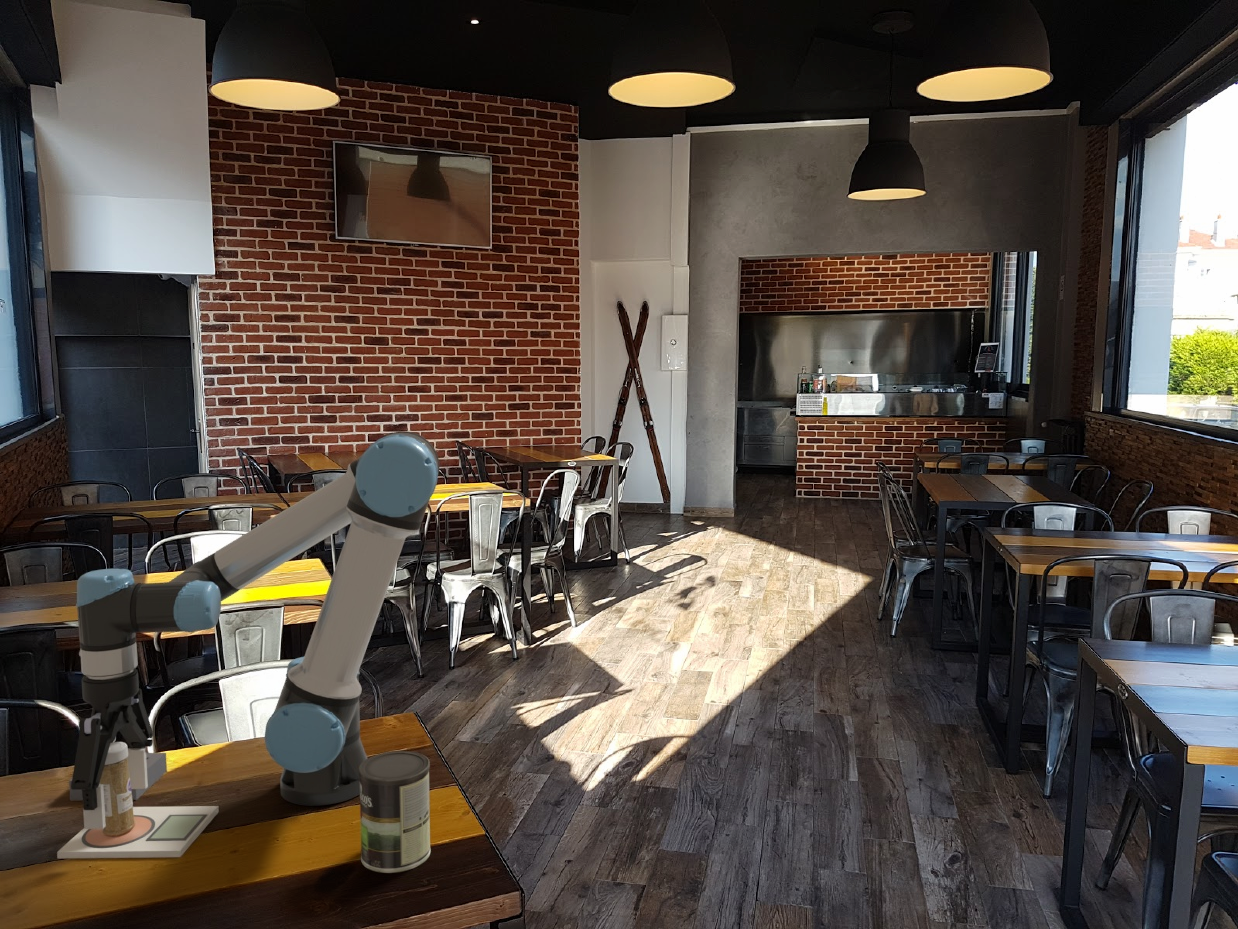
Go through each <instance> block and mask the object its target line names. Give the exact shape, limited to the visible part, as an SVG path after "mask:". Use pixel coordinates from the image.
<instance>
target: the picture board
mask: <svg viewBox="0 0 1238 929" xmlns="http://www.w3.org/2000/svg"><path fill="white" fill-rule="evenodd" d="M219 808H220V807H219V805H211V806H210V805H203V806H200V805H199V806H196V805H195V806H191V805H190V806H188V805H187V806H185V805H184V806H181V805H180V806H133V815H134V820H135V826H134V828H133V829H132V830H130V831H128V832H126V833H124V834H121V835H116V836H107V835H105V834H104V833H103V829H84V827H83V828H82V829H81V830H79V832H78V833H77V834H76V835H74V837H72V838H71V839H70V840H69V841H68V842H67V843H65V844H64V845H63V846H62V847H61V848H60V849H59V850H58V851H57V852H56V856H57V857H56V858H57V859H121V858H122V859H129V858H133V859H135V858H140V859H141V858H142V859H145V858H150V859H151V858H181V857H182V856H183V855H184V853H185V852H186V851H187V850H188V849H189V847H190V846H192V844H193V843H194V842H195V840H196V839H197V838H198V837H199V836H200V835H201V833H203V831H204V830H205V829H206V827H208V825H209V824H210V823H211V822H212V821H213V819H215V817H216V816H217V815H218V814H219V812H220V811H219Z"/></svg>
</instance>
